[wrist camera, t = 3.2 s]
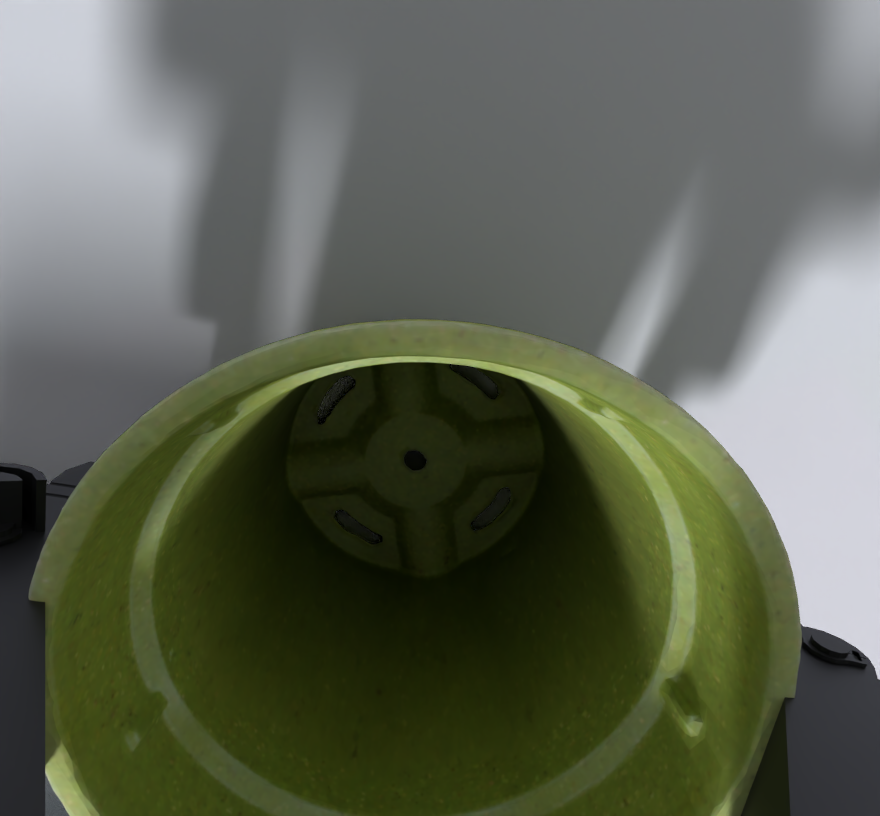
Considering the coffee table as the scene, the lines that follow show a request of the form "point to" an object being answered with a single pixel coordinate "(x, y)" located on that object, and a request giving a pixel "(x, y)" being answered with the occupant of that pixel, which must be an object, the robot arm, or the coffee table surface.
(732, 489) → the plant pot
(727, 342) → the coffee table surface
